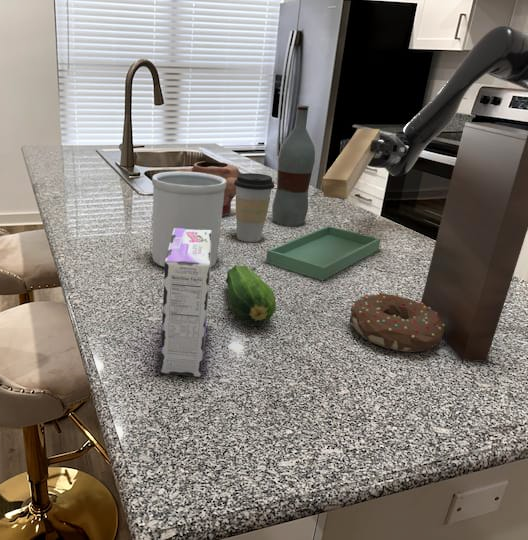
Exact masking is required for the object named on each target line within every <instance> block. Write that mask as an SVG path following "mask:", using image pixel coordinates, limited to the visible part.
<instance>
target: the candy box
mask: <svg viewBox="0 0 528 540" xmlns="http://www.w3.org/2000/svg"><path fill="white" fill-rule="evenodd" d="M211 239H212V231H211V230H201V229H183V228H174V230H173V233H172V237H171V241H170V244H169V248H168V252H167V255H166V259H165V267H164V273H163V294H162V295H163V297H162V318H161V319H162V320H161V321H162V322H161V345H160V346H161V347H160V371H159V372H160V373H161V374H168V375H176V376H177V375H179V376H185V377H186V376H187V377H195V378H196V377H197V378H201V376H202V375H203V363H204V353H205V343H206V334H207V322H208V312H209V311H208V309H209V297H210V282H211V268H212V267H211Z"/></svg>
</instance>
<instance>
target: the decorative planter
mask: <svg viewBox="0 0 528 540" xmlns="http://www.w3.org/2000/svg"><path fill="white" fill-rule="evenodd" d="M177 171H185V172H198V173H206V174H211V175H216V176H219V177H222V178H224V179H226V181H227V183H226V188H225V190H224V201H223V210H222V217H223V216H227V215H229V214H230V213H231V208H232V202H233V199H234V198H235V197H236V186H235V185H234V182H235V179H237V177H238V175H239V174H241V172H240V169H239V167H238V166H236V165H234V164H230V163H228V162H219V161H208V160H207V161H206V160H205V161H204V160H203V161H198V162H196V163H194V164H193V166H192V168H181V169H178V170H177Z"/></svg>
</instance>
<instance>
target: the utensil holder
mask: <svg viewBox="0 0 528 540" xmlns="http://www.w3.org/2000/svg"><path fill="white" fill-rule="evenodd" d="M151 183H152V186H153V189H152V190H153V193H152V195H153V196H152V234H151V235H152V236H151V237H152V239H151V240H152V241H151V242H152V243H151V244H152V246H151V247H152V248H151V249H152V251H151V252H152V253H151V254H152V256H151V257H152V260H153V262H154V263H155V264H157V265H158V266H160V267H162V268H165V259H166V255H167V252H168V248H169V244H170V241H171V237H172V233H173V230H174V228H183V229H201V230H211V231H212V239H211V268H212V267H214V266H215V265H216V264H217V260H218V255H219V254H218V253H219V247H220V246H219V245H220V239H221V227H222V218H223V216H222V210H223V201H224V190H225V188H226V183H227V181H226V179H224V178H222V177H219V176H216V175H211V174H206V173H198V172H185V171H178V170H176V171H175V170H174V171H164V172H158V173H155V174H153V175H152V177H151Z"/></svg>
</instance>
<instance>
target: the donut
mask: <svg viewBox="0 0 528 540" xmlns="http://www.w3.org/2000/svg"><path fill="white" fill-rule="evenodd" d="M349 309H350V317H349V323H350V324H351V325H352V326H353V327H354V329H355V330H356V332H357V333H358V334H359V335H360V336H361V337H362V338H364V339H366V340H367V341H369V342H371V343H372V344H375V345H378V346H380V347H382V348H385V349H389V350H393V351H398V352H399V351H400V352H411V353H413V352H422V351H423V352H424V351H426V350H428V349H432V348H433V347H435V346H436V345H440V342H441V340H443V338H442V337H443V333H444V330H445V328H444V324H443V322H442V320H441V319H440V317H439V315H438V314H437V312H435V311H433V310H431V308H430V307H427V306H426V305H423V303H421V302H418V301H416V300H414V299H411V298H408V297H406V296H400V295H399V294H396V295H395V294H394V293H391V294H390V293H385V292H383V293H382V292H380V293H379V294H370V295H369V294H366V295H364V296H361V297H359V298H357V299H356V300H354V303H353V304H352V305H351V307H350V308H349Z"/></svg>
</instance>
